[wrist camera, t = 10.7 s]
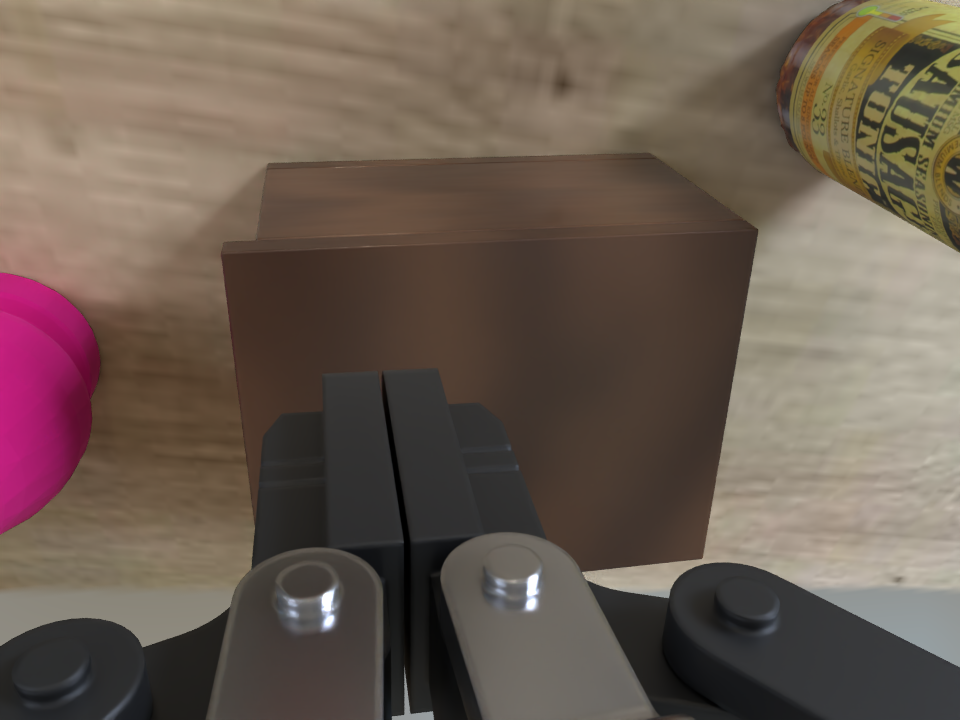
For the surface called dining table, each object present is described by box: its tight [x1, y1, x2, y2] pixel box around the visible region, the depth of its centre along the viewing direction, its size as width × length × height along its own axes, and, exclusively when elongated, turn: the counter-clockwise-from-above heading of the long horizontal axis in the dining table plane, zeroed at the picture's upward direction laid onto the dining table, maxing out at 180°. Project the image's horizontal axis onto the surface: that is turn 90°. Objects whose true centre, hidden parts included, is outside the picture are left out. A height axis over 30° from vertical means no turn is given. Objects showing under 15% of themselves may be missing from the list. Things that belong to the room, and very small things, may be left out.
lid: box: [221, 220, 758, 572], centre depth 26 cm, size 14×12×1 cm
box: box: [256, 153, 743, 241], centre depth 30 cm, size 14×12×8 cm
